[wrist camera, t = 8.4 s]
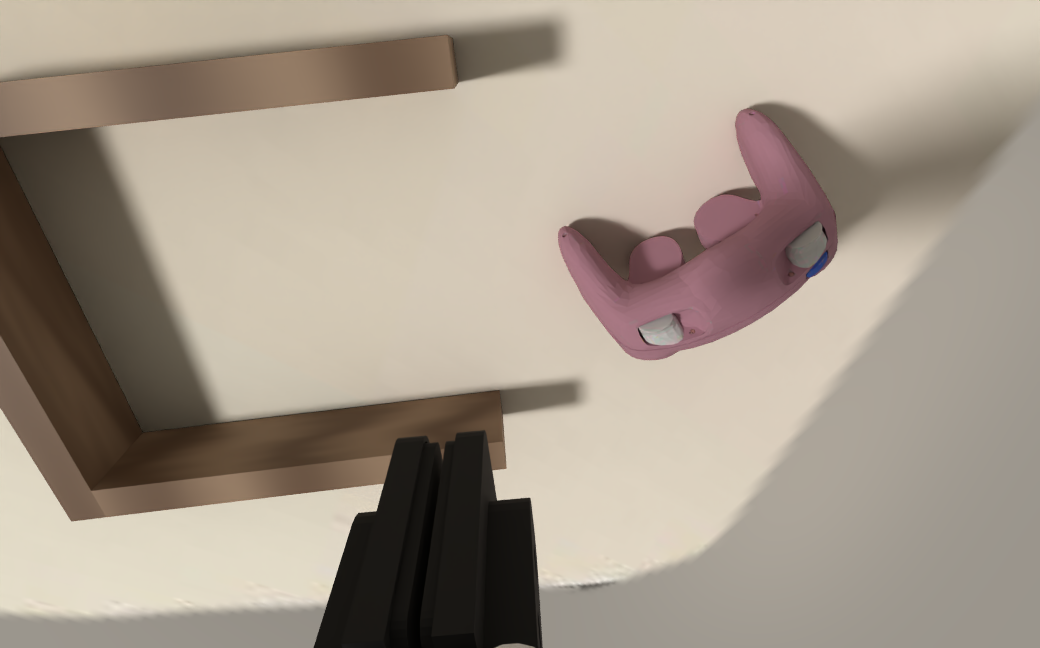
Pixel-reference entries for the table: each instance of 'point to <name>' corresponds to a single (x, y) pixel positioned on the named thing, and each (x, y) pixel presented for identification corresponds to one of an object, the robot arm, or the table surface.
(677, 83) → the table surface
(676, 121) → the table surface
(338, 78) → the frame
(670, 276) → the video game controller
